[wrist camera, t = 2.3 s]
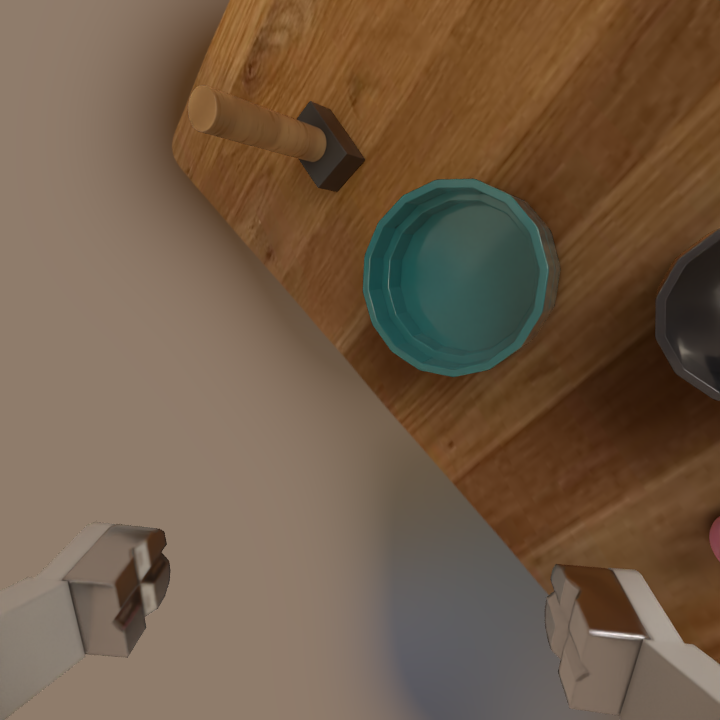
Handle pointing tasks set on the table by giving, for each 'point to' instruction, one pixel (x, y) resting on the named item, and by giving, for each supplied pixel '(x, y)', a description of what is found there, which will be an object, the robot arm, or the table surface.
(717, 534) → the dog chew toy
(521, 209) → the bowl
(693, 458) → the table surface
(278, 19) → the table surface
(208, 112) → the wooden rod on block
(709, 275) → the bowl
